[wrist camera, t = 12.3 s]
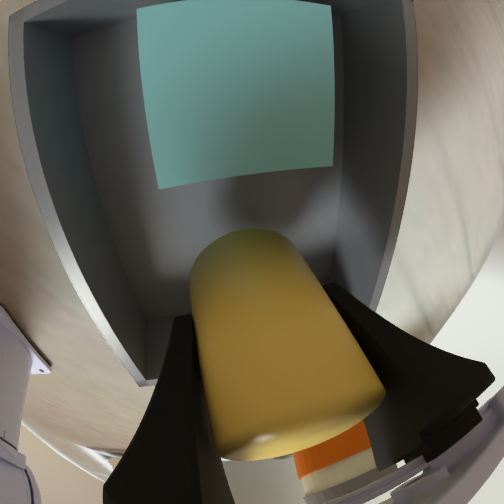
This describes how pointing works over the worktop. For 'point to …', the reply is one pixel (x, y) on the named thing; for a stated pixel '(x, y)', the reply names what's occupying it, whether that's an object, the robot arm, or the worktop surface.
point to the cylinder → (273, 350)
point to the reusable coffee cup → (338, 466)
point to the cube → (236, 87)
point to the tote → (206, 192)
